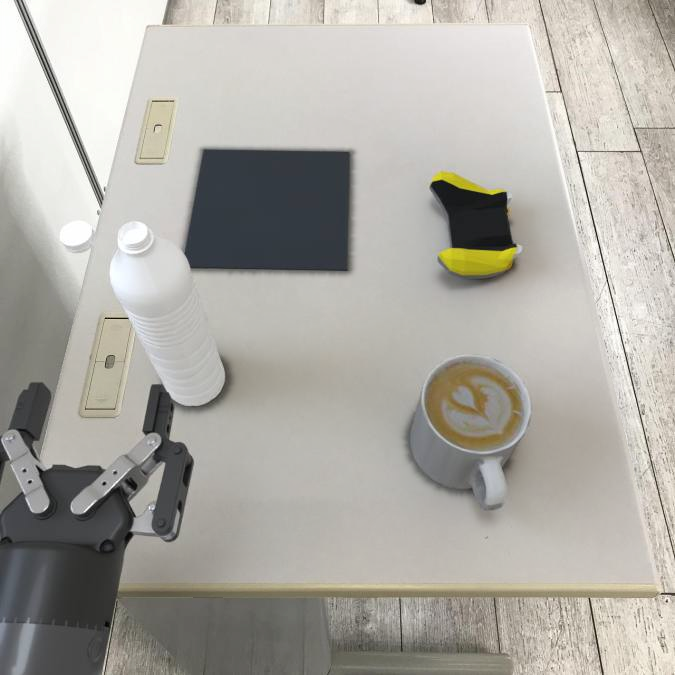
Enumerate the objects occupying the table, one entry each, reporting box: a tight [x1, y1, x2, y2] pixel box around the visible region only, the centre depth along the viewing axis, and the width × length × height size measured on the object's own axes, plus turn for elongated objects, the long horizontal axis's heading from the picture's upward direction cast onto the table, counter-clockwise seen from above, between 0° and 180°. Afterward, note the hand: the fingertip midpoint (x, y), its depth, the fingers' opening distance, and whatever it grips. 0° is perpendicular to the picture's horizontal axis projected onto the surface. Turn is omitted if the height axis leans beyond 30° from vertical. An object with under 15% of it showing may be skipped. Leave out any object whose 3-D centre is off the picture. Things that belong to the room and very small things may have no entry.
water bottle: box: [59, 220, 226, 407], centre depth 59 cm, size 9×6×25 cm
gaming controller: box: [429, 170, 523, 280], centre depth 77 cm, size 15×6×10 cm
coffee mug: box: [409, 353, 533, 512], centre depth 61 cm, size 13×10×10 cm
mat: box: [184, 148, 350, 272], centre depth 82 cm, size 20×20×1 cm
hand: (101, 387), depth 46 cm, fingers open, 8 cm apart
